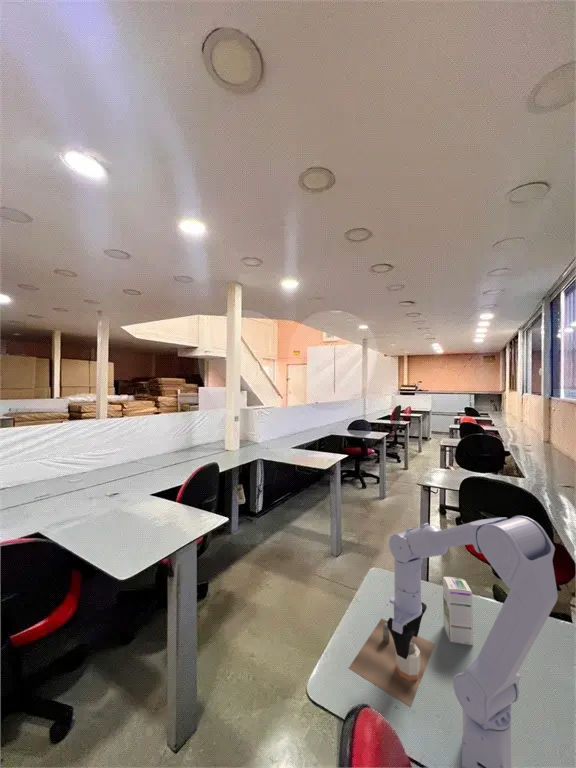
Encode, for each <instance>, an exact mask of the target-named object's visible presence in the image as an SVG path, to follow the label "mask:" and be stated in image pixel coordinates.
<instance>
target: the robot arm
mask: <svg viewBox="0 0 576 768" xmlns="http://www.w3.org/2000/svg"><path fill="white" fill-rule="evenodd" d="M468 545H472V546H473V548H474V551H475V552H477V553H478V554H481V553H482V554H483V556H484V558H485V559H486V560H487V562H488V563H489V564H490V566H491V567H492V568H493V570H494V572H495V573H496V574H497V575H498V577H499V578H500V579H501V581H502V582H503V583H504V585H505V586H506V587H507V588H508V589H510V590H509V592H508V594H507V597H506V598H505V600H504V602H503V604H502V607H501V609H500V611H499V613H498V615H497V616H496V619H495V620H494V623H493V625H492V627H491V629H490V631H489V633H488V635H487V637H486V640H485V641H484V643H483V645H482V648H480V649H481V650H480V652H479V653H478V655H477V656H476V657H475V658H474V659H473V660H472V661H471V662H470V663H469V664H468V665H467V666H466V667H465V670H464V671H463V672H460V673H456V674H455V675H454V676H453V679H452V684H453V685H452V686H453V690H454V694H455V696H456V699H457V701H458V703H459V705H460V706H461V708H462V735H461V736H462V737H461V768H512V718H511V717H512V715H511V712H512V704H514V703H516V702H517V701H518V700H519V697H520V689H519V682H520V680H521V678H522V676H521V674H520V673H519V671H520V668H521V667H522V665H523V663H524V662H525V659H526V658H527V656H528V654H529V652H530V651H531V649H532V647H533V645H534V644H535V641H536V640H537V638H538V636H539V634H540V632H541V630H543V629H542V628H544V625H545V624H546V621H547V620H548V617H549V616H550V614H551V612H552V611H553V609H554V607H555V605H556V604H557V601H558V597H559V595H558V588H557V582H556V575H555V569H554V565H553V564H554V562H553V559H554V555H555V551H556V547H555V545H554V544H553V542H552V540H551V539H550V537H549V535H548V534H547V532H546V530H545V529H544V528H543V526H541V524H539V522H537V521H536V520H534V519H533V518H531V517H528V516H525V515H515V516H512V517H511V518H508V517H494V518H493V517H492V518H485V519H478V520H474V521H471V522H467V523H463V524H460V525H455V526H452V527H448V528H445V529H442V528H440V527H439V526H438V525H434V524H433V525H432V524H429V522H426V523H423V524H420V525H419V528H413V527H409V528H407V529H405V531H403V532H399V533H393V534H392V535H391V536H390V538H389V541H388V547H389V551H390V552H391V555H392V556H393V558H394V595H391V596H390V597H389V603H390V604H392V605H393V618H392V617H389V618H388V620H386V621H387V627H388V629H389V631H390V632H391V634H392V637H393V640H394V644H395V648H396V652H397V655H398V656H400V657H402V658H404V659H407V657H408V654H409V647H410V642H411V639H412V637H413V636H414V637H416V638H417V636H419V633H420V627H421V623H422V622H421V621H422V618H423V616H424V614H425V612H426V610H427V609H428V608H427V604H425V603H424V602H422V565H424V564H423V563H424V561H423V560H424V559H426V558H433V557H439V556H444V555H445V554H446V553H447V552H448V550H449V548H450V547H451V548H452V547H459V546H468Z"/></svg>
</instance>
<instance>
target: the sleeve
mask: <svg viewBox="0 0 576 768" xmlns="http://www.w3.org/2000/svg"><path fill="white" fill-rule="evenodd" d="M396 669H397V671H398V673H399V675H400V676H401V677H403V678H405V679H407V680H408V681H413V680H418V678H419V675H420V650H419V649H418V647H417V646H416V644H414V643H412V642H410V647H409V654H408V657H407V659H404V658H402V657H400V656H398V655H397V652H396Z"/></svg>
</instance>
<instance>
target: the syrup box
mask: <svg viewBox="0 0 576 768" xmlns="http://www.w3.org/2000/svg"><path fill="white" fill-rule="evenodd" d="M442 597H443V599H442V600H443V627H444V631H445V632H446V636H447V638H448V640H449V642H452V643H456V644H462V645H469V646H474V619H473V618H474V617H473V614H474V612H473V592H472V589H471V588H470V587H469V584H468V583H467V581H466V580H465V579H464V578H461V577H455V576H454V577H453V576H443V577H442Z"/></svg>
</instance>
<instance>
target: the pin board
mask: <svg viewBox="0 0 576 768" xmlns="http://www.w3.org/2000/svg"><path fill="white" fill-rule="evenodd" d="M387 621H388V620H386V619H384V618H380V619H379V621H378V623H377V625H376V626H375V628H374V629H373V631H372V632H371V634H370V635H369V636H368V638H367V640H366V641H365V643H364V644H363V646H362V647H361V649H360V650H359V652H358V653H357V655H356V656H355V658H354V660H353V661H352V662H351V664H350V665H349V667H348V669H349V670H351V671H352V672H354V673H356V674H357V675H359V676H360V677H362V678H364V679H365V680H366V681H368V682H370V683H371V684H373V685H374V686H376V687H378V688H379V689H381V690H382V691H383V692H385V693H388V695H390V696H392V697H393V698H395V699H396V700H398V701H400V702H401V703H403V704H405V705H407V706H408V707H410V708H411V707H412V705H413V702H414V699H415V697H416V694H417V692H418V690H419V687H420V684H421V682H422V679H423V676H424V674H425V671H426V669H427V666H428V663H429V660H430V658H431V655H432V653H433V650H434V647H435V646H436V645H435V643H434V642H432V641H430V640H427V639H425V638H423V637H421V636H420V635H418V636H417V638H416V637H414V636H413V637H412V639H411V642H412V643H414V644H416V646H417V647H418V649H419V650H420V675H419V678H418V680H413V681H408V680H407V679H405V678H403V677H401V676H400V675H399V673H398V671H397V669H396V648H395V644H394V640H393V637H392V634H391V632H390V631H389V629H388V627H387Z"/></svg>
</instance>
